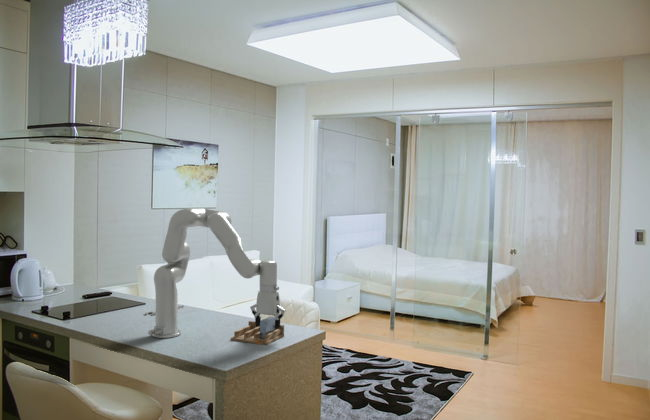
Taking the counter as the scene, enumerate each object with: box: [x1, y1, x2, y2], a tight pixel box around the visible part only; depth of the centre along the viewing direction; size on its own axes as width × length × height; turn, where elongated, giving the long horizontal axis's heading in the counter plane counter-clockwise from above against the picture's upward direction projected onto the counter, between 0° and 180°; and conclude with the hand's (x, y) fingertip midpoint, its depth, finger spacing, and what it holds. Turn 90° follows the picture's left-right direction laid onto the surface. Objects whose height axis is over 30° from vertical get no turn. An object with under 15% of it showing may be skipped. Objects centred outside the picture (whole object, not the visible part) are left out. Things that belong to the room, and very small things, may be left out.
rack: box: [230, 320, 285, 346], centre depth 228 cm, size 16×18×5 cm
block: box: [260, 316, 276, 340], centre depth 227 cm, size 9×3×8 cm, turn 157°
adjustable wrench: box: [144, 305, 185, 317], centre depth 279 cm, size 25×6×2 cm, turn 145°
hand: (267, 327), depth 226 cm, fingers open, 9 cm apart
